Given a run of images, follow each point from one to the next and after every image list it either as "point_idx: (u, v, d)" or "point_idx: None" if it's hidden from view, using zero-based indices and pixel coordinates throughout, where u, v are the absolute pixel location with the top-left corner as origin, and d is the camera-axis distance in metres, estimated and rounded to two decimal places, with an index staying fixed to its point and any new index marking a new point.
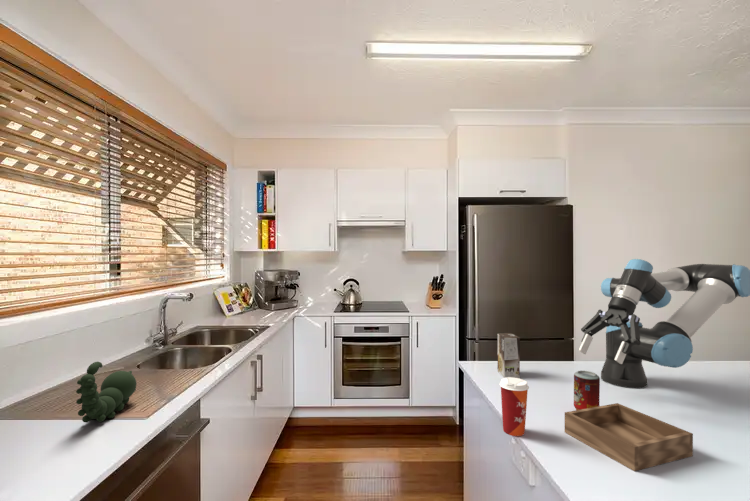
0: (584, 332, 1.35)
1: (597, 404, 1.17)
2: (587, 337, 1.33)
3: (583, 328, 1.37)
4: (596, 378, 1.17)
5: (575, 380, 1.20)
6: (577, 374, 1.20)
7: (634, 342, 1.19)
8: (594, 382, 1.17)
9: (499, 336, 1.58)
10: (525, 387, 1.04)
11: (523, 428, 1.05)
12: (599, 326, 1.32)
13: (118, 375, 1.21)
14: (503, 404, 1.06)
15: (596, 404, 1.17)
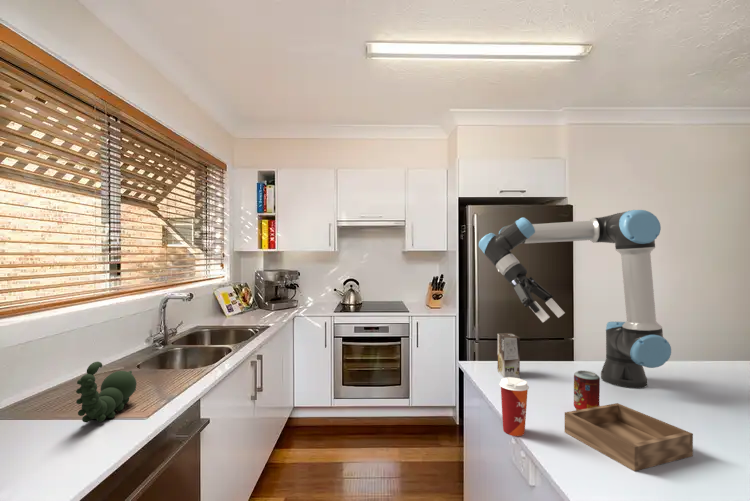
0: None
1: (597, 404, 1.17)
2: (548, 304, 1.35)
3: None
4: (596, 378, 1.17)
5: (575, 380, 1.20)
6: (577, 374, 1.20)
7: (526, 303, 1.24)
8: (594, 382, 1.17)
9: (499, 336, 1.58)
10: (525, 387, 1.04)
11: (523, 428, 1.05)
12: (536, 293, 1.36)
13: (118, 375, 1.21)
14: (503, 404, 1.06)
15: (596, 404, 1.17)
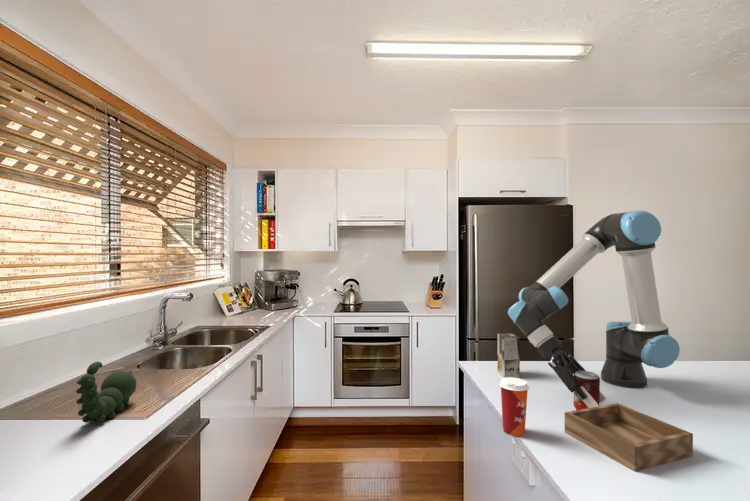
0: None
1: None
2: None
3: None
4: (596, 378, 1.17)
5: None
6: (577, 374, 1.20)
7: (572, 389, 1.17)
8: (594, 382, 1.17)
9: (499, 336, 1.58)
10: (525, 387, 1.04)
11: (523, 428, 1.05)
12: (572, 371, 1.26)
13: (118, 375, 1.21)
14: (503, 404, 1.06)
15: None
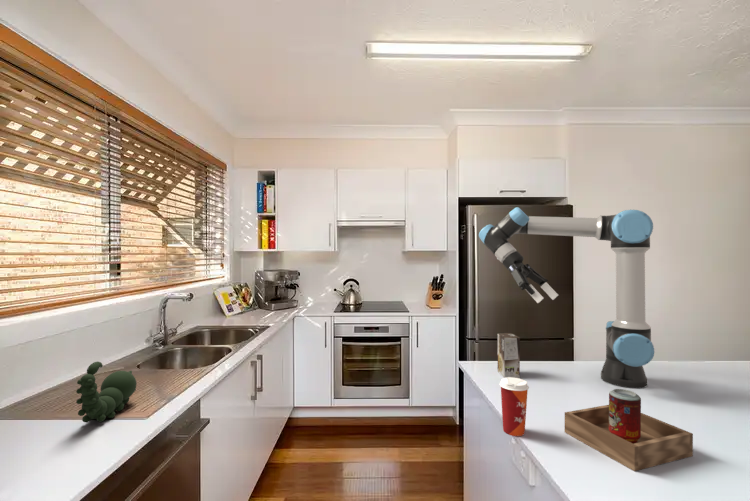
0: None
1: (638, 430, 0.98)
2: (543, 288, 1.48)
3: None
4: (637, 399, 0.98)
5: (611, 401, 1.01)
6: (613, 394, 1.01)
7: (522, 286, 1.37)
8: (635, 403, 0.98)
9: (499, 336, 1.58)
10: (525, 387, 1.04)
11: (523, 428, 1.05)
12: (532, 278, 1.49)
13: (118, 375, 1.21)
14: (503, 404, 1.06)
15: (637, 430, 0.98)
